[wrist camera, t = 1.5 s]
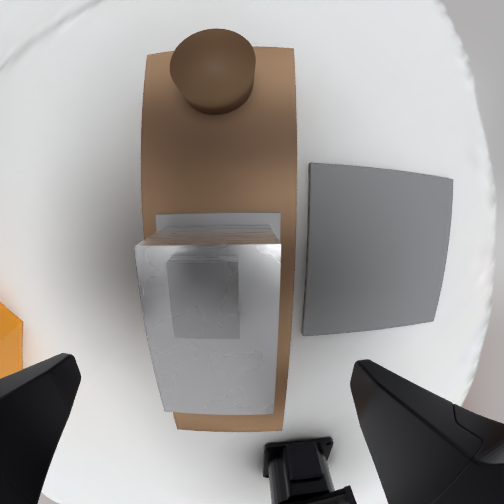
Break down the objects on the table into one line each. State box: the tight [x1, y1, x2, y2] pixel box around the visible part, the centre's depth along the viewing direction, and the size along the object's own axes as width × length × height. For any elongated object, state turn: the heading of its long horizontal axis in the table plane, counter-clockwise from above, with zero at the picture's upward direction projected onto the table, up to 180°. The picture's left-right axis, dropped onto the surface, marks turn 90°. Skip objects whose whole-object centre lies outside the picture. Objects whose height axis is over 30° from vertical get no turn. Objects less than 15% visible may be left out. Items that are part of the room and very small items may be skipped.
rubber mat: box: [302, 163, 453, 336], centre depth 17 cm, size 11×11×1 cm
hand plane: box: [141, 29, 297, 432], centre depth 14 cm, size 22×7×6 cm, turn 0°
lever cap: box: [134, 224, 281, 415], centre depth 11 cm, size 7×4×5 cm, turn 0°
